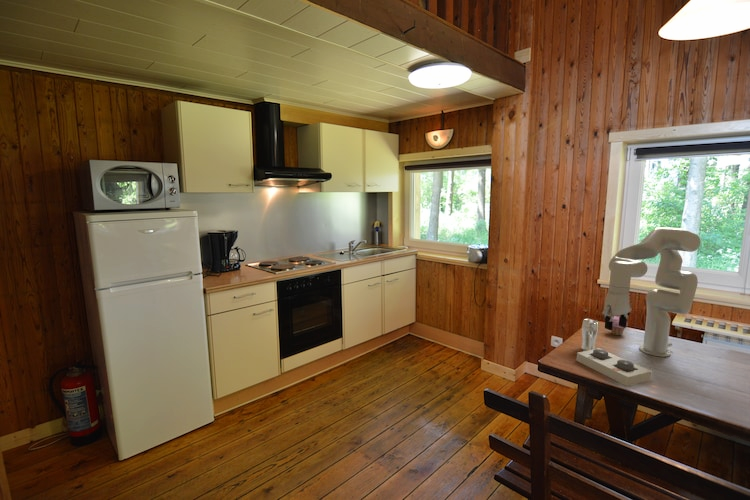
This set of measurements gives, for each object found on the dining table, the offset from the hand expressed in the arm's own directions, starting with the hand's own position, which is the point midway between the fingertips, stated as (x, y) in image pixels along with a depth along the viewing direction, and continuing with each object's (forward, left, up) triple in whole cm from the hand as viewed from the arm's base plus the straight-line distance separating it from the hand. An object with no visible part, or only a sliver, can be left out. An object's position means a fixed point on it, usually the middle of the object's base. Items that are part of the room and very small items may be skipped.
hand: (615, 327), depth 166 cm
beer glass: (-9, -20, -20) cm, 30 cm away
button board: (0, 0, -20) cm, 20 cm away
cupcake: (-41, -29, -20) cm, 54 cm away
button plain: (0, -6, -17) cm, 18 cm away
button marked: (0, +6, -17) cm, 18 cm away
